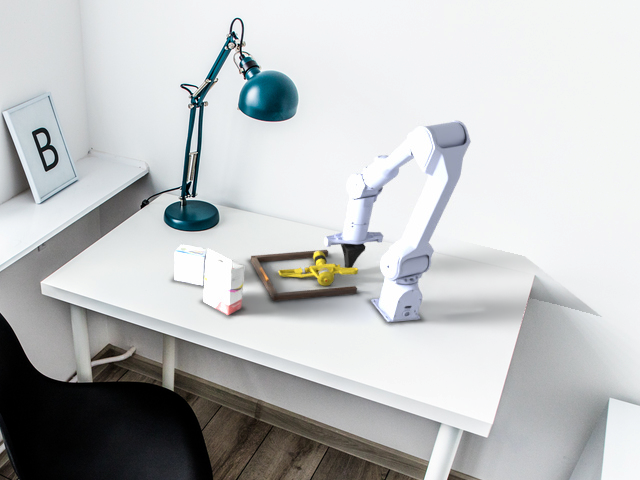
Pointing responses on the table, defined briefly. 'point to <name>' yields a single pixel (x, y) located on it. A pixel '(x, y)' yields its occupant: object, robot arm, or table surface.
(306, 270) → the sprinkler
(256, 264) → the frame
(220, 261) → the ink cartridge box
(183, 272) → the medicine box
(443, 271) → the table surface
